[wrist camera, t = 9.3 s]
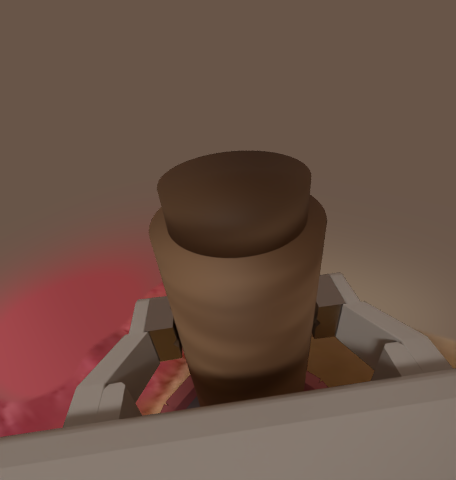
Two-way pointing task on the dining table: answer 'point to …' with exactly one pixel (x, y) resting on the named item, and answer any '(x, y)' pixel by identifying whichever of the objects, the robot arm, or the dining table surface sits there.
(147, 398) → the dining table surface
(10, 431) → the dining table surface
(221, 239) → the pepper mill
